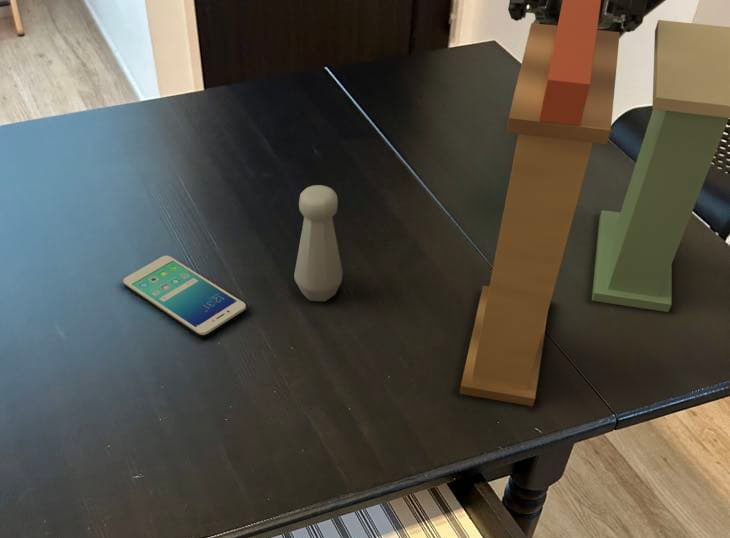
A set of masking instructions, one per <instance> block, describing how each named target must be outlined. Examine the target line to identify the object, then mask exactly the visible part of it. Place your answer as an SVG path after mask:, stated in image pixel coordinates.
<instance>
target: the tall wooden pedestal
mask: <svg viewBox="0 0 730 538" xmlns="http://www.w3.org/2000/svg"><path fill="white" fill-rule="evenodd" d="M529 30H530V31H529ZM529 30H528V36H527V40H526V43H525V48H524V52H523V56H522V61H521V65H520V69H519V73H518V78H517V82H516V86H515V90H514V94H513V98H512V102H511V106H510V110H509V115H508V120H507V126H506V130H505V131H506V133H510V134H517V140H516V145H515V151H514V155H513V162H512V167H511V172H510V177H509V182H508V186H507V187H508V188H507V192H506V197H505V203H504V207H503V208H504V209H503V214H502V219H501V224H500V228H499V229H500V230H499V233H498V240H497V245H496V250H495V255H494V260H493V265H492V271H491V276H490V282H489V285H482V287H481V294H480V298H479V302H478V307H477V310H476V316H475V320H474V324H473V329H472V334H471V337H470V343H469V346H468V351H467V356H466V362H465V364H464V368H463V369H464V370H463V374H462V378H461V383H460V388H459V395H463V396H464V395H465V396H470V397H476V398H482V399H489V400H493V401H499V402H504V403H505V402H506V403H511V404H515V405H516V404H517V405H521V406H528V407H534V404H535V401H536V397H537V389H538V383H539V377H540V376H539V375H540V369H541V361H542V354H543V347H544V340H545V333H546V326H547V319H548V313H549V309H550V305H551V303H552V298H553V294H554V290H555V288H556V287H555V286H556V283H557V279H558V275H559V272H560V268H561V264H562V262H563V261H562V260H563V256H564V253H565V249H566V246H567V242H568V238H569V235H570V230H571V228H572V223H573V219H574V216H575V212H576V210H577V209H576V208H577V204H578V201H579V197H580V193H581V190H582V186H583V183H584V178H585V176H586V172H587V167H588V164H589V160H590V156H591V152H592V148H593V145H594V144H598V145H604V146H606V145H607V144H608V142H609V138H610V136H611V132H612V123H613V111H614V100H615V90H616V89H615V88H616V78H617V68H618V57H619V45H620V44H619V43H620V39H619V35H620V32H612V31H602V30H597V36H596V44H595V51H594V59H593V67H592V75H591V82H590V87H589V91H588V95H587V99H586V103H585V107H584V111H583V115H582V119H581V123H580V126H577V125H569V124H561V123H552V122H544V121H539V119H540V113H541V108H542V103H543V98H544V93H545V88H546V83H547V77H548V72H549V67H550V62H551V57H552V52H553V47H554V42H555V36H556V31H557V26H555V25H545V24H536V23H533V22H531V24H530V27H529Z"/></svg>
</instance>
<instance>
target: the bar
mask: <svg viewBox="0 0 730 538" xmlns="http://www.w3.org/2000/svg"><path fill="white" fill-rule="evenodd" d="M600 5H601V0H563V1H562V6H561V11H560V16H559V21H558V26H557V31H556V36H555V42H554V47H553V52H552V57H551V62H550V67H549V72H548V77H547V83H546V88H545V93H544V98H543V103H542V108H541V113H540V119H539V121H544V122H552V123H561V124H569V125H577V126H580V123H581V119H582V115H583V111H584V107H585V103H586V99H587V95H588V91H589V87H590V82H591V75H592V67H593V59H594V51H595V44H596V36H597V28H598V20H599V12H600Z"/></svg>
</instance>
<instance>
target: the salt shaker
mask: <svg viewBox="0 0 730 538" xmlns="http://www.w3.org/2000/svg"><path fill="white" fill-rule="evenodd" d="M338 202H339V200H338V195H337V193H336V192H335V190H334V189H333V188H331V187H329V186H327V185H323V184H314V185H311V186H308V187H306V188H305V189H304V190H303V191H302V192H300V194H299V201H298V207H299V208H298V209H299V212H300V213H301V215H302V216H303V223H302V227H301V228H302V229H301V234H300V238H299V239H300V240H299V246H298V250H297V251H298V252H297V256H296V263H295V267H294V276H293V278H294V282H295V283H296V285H297V287H298V288H299V290H300V292H301V294H302V295H303V296H304V297H306V298H307V299H308V300H309V301H311V302H326V301H328V300H329V299H331V298H333V297H334V296H335V295H336V294H337V292H338V290H339V288H340V285H341V284H342V280H343V267H342V261H341V257H340V250H339V246H338V241H337V236H336V230H335V226H334V220H333V217H334V216H335V215H336V214H337V212H338V204H339V203H338Z"/></svg>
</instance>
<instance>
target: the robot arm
mask: <svg viewBox="0 0 730 538" xmlns="http://www.w3.org/2000/svg"><path fill="white" fill-rule="evenodd" d="M562 1H563V0H509V3H508V7H507V11H508V13H509V17H510V19H511V20H514V21H515V22H519V21H521V20H523V19H525V18H526V16H527V14H534V21H532V23H536V24H545V25H555V26H558V21H559V16H560V11H561V6H562ZM666 1H667V0H601V5H600V12H599V20H598V28H597V30H602V31H612V32H620V35H619V40H620V39H621V38H622V37H623V36H624V35H625V34H627V33H631V32H634V31H636V30H637V29H638V28H639V27H640V26H641V25H642V24H643V21H644V18H645V17H646V16H648V15H649V14H650V13H652V12H653V11H654V10H655V9H657V8H658V7H659V6H661V5H662V4H663V3H665V2H666ZM529 31H530V29H529V30H528V32H529Z"/></svg>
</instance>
